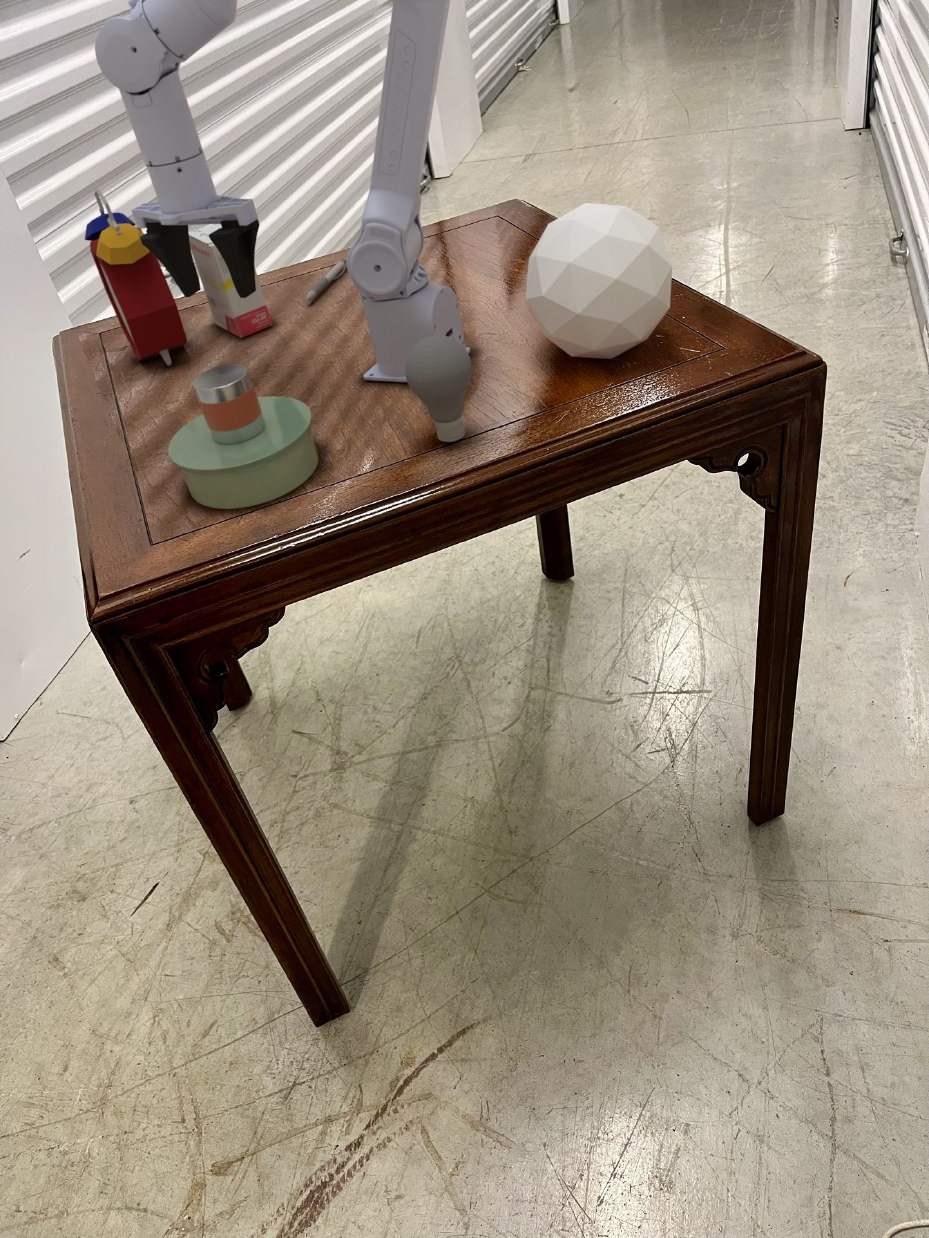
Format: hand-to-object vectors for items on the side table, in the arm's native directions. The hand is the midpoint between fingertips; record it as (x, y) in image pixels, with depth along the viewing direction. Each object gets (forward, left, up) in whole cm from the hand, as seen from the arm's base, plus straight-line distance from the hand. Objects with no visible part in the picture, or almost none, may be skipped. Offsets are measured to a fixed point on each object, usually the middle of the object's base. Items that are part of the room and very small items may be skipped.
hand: (220, 293), depth 101 cm
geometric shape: (-38, -12, -11) cm, 41 cm away
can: (-13, +17, -6) cm, 22 cm away
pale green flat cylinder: (-13, +17, -10) cm, 24 cm away
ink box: (+12, -15, -11) cm, 22 cm away
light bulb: (-30, +8, -11) cm, 33 cm away
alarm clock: (+18, -7, -11) cm, 22 cm away
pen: (+7, -28, -11) cm, 31 cm away
